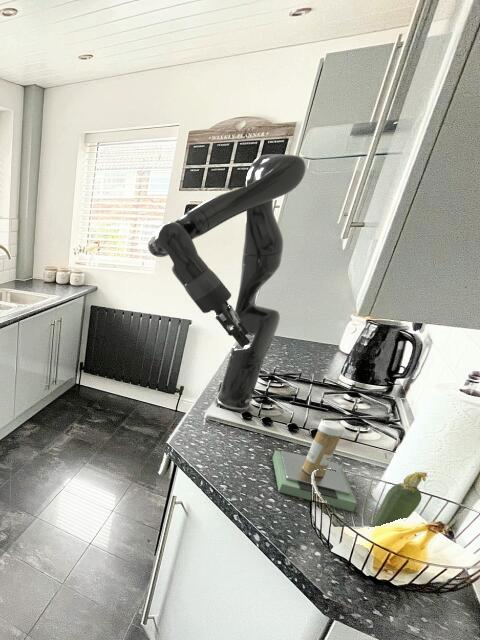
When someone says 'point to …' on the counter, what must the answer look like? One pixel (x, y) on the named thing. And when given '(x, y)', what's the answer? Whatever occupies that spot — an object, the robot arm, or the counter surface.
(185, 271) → the robot arm
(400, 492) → the vegetable
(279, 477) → the scale
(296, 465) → the pan
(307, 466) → the sprinkles bottle
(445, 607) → the counter surface
